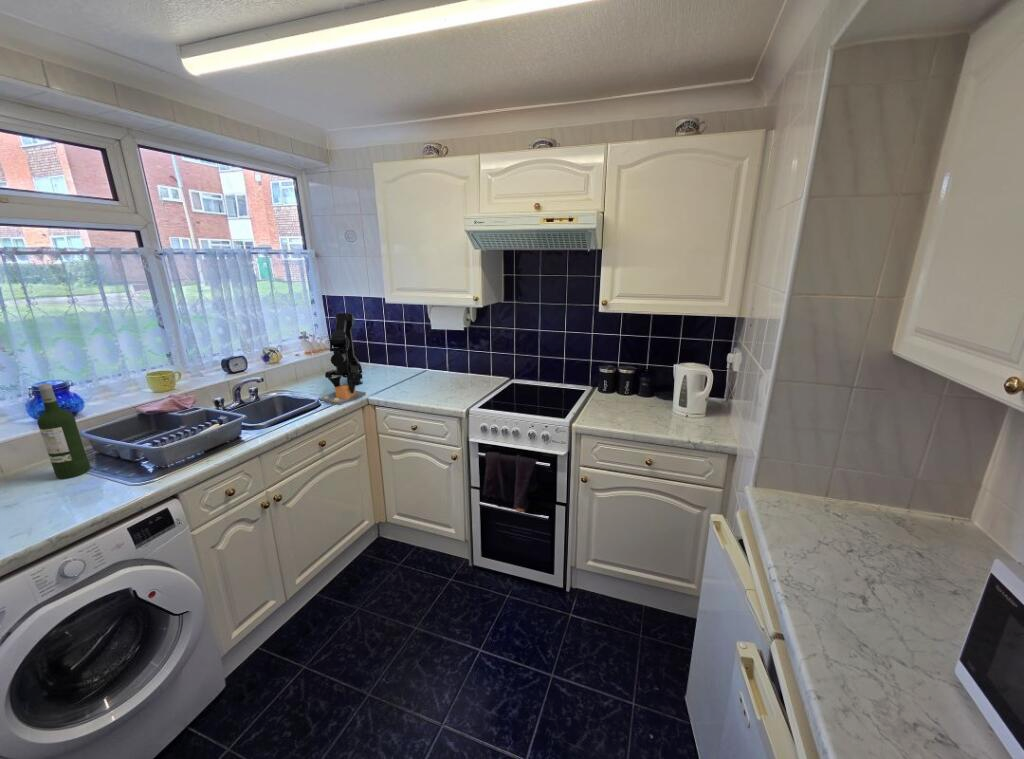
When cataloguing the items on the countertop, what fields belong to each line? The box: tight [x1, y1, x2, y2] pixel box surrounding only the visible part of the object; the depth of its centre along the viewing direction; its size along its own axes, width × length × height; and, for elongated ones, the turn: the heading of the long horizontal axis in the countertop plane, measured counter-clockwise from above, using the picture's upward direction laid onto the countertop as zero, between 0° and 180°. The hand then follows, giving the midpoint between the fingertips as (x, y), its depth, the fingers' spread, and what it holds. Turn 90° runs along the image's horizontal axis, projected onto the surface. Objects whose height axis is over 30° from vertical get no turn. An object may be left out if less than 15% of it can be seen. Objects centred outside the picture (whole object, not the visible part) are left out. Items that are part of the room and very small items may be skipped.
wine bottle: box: [36, 383, 91, 480], centre depth 130 cm, size 8×8×30 cm
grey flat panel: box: [317, 390, 367, 406], centre depth 206 cm, size 17×14×2 cm
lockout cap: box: [334, 383, 356, 399], centre depth 203 cm, size 6×6×6 cm
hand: (345, 392), depth 203 cm, fingers open, 8 cm apart
